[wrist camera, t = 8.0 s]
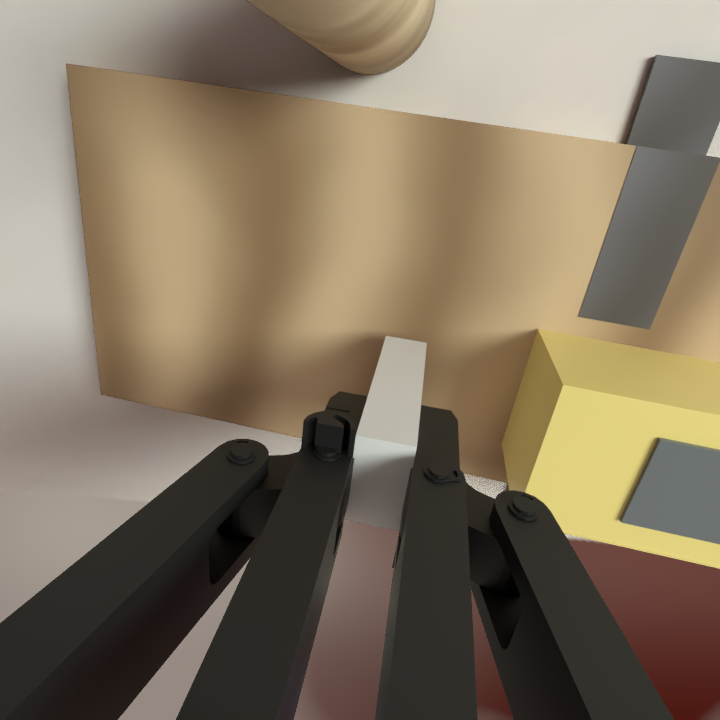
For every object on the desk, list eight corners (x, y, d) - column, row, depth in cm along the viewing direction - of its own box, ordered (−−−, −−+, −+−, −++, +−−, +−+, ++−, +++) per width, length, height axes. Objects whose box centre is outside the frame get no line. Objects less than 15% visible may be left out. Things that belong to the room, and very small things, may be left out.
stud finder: (501, 443, 20) (514, 525, 15) (537, 328, 17) (564, 387, 13) (683, 481, 19) (749, 578, 15) (744, 366, 17) (841, 441, 13)
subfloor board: (121, 426, 24) (105, 440, 23) (82, -16, 17) (55, -28, 15) (664, 548, 22) (676, 570, 20) (914, 89, 14) (954, 84, 13)
